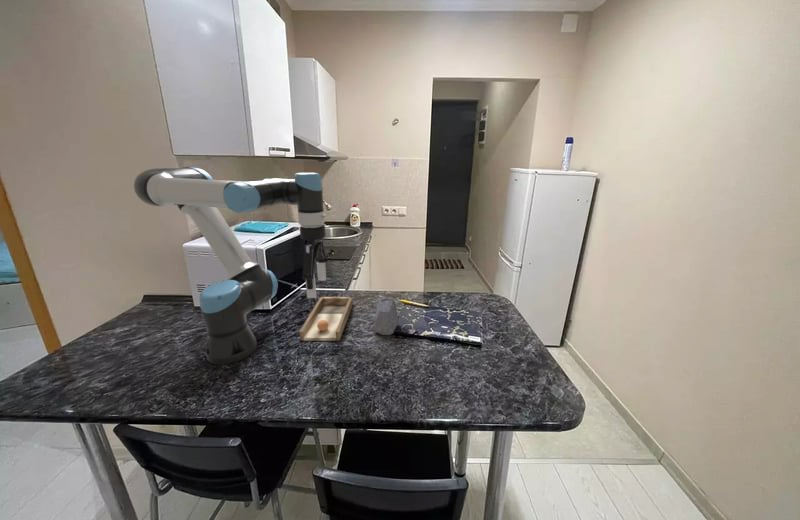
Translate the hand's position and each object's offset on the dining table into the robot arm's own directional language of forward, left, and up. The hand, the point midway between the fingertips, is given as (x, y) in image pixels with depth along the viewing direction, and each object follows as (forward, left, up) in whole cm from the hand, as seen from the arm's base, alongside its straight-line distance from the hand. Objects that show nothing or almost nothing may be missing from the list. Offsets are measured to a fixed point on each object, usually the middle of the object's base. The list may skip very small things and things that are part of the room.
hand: (317, 288), depth 100 cm
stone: (+21, +8, -21) cm, 31 cm away
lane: (-1, +15, -21) cm, 25 cm away
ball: (-1, +6, -17) cm, 18 cm away
